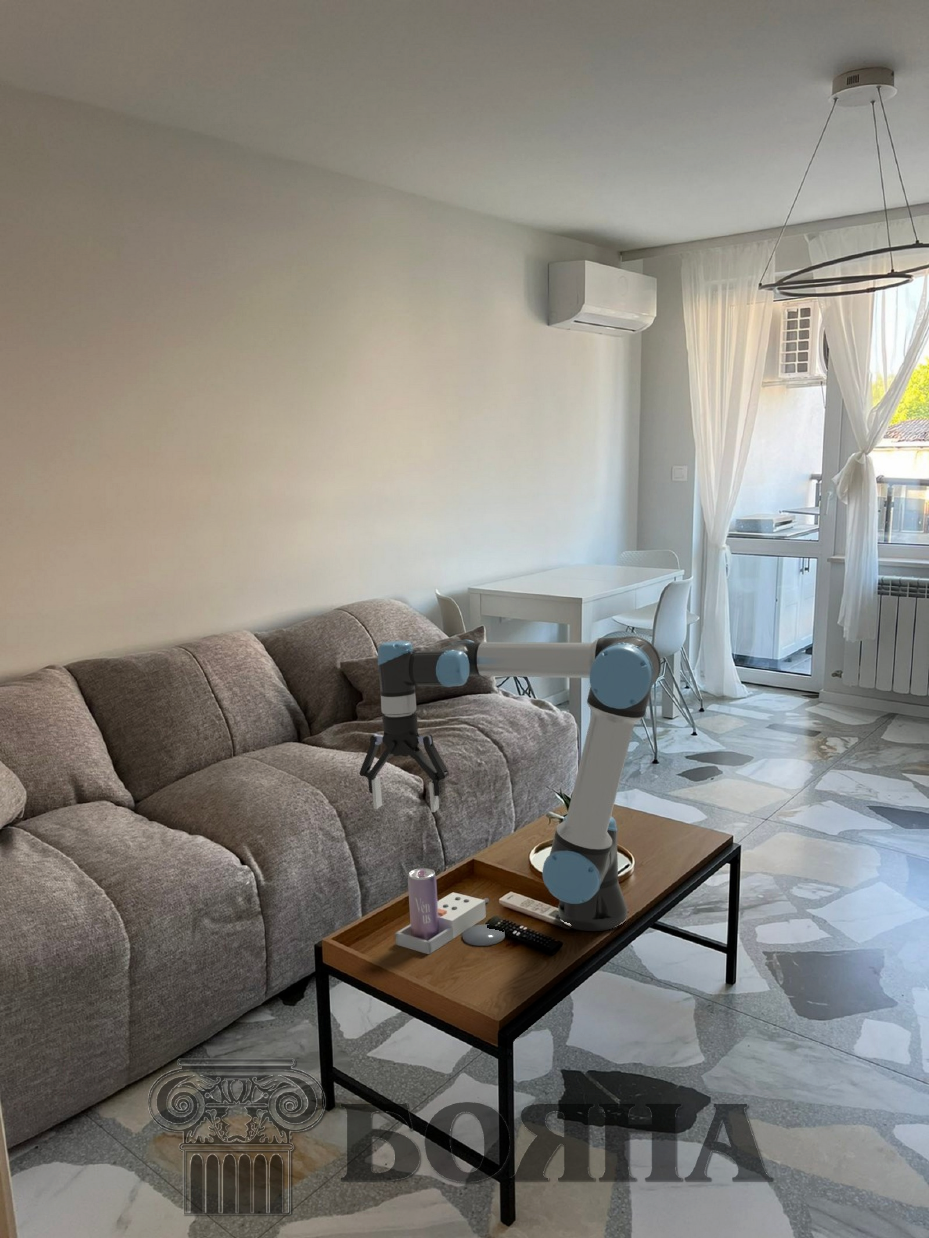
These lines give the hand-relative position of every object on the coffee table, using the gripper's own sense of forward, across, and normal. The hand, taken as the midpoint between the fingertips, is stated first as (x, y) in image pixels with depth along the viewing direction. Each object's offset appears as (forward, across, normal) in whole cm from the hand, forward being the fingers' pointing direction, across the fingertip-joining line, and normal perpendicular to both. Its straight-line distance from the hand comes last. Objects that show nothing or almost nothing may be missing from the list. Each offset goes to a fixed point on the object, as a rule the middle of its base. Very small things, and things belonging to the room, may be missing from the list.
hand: (406, 808), depth 205 cm
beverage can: (+27, -5, +6) cm, 28 cm away
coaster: (+27, -17, +1) cm, 32 cm away
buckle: (+27, -8, -3) cm, 28 cm away
